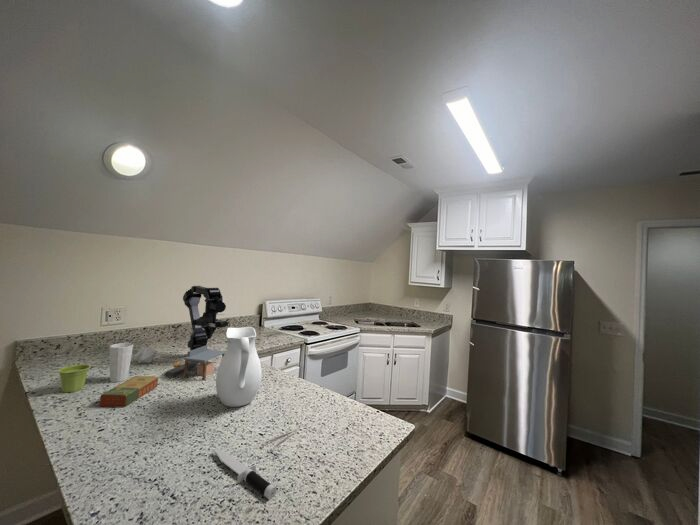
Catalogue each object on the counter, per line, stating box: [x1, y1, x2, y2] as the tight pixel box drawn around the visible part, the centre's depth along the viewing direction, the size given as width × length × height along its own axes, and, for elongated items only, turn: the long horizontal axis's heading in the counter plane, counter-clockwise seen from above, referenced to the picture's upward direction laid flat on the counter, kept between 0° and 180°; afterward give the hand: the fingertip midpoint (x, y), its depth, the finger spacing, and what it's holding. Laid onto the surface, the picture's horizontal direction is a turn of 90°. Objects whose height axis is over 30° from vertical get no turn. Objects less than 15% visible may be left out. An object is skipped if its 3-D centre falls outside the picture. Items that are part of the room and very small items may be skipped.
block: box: [196, 361, 214, 377], centre depth 137 cm, size 5×5×5 cm
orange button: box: [173, 362, 182, 368], centre depth 135 cm, size 3×3×1 cm
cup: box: [108, 342, 134, 383], centre depth 125 cm, size 8×8×16 cm
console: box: [165, 362, 200, 378], centre depth 139 cm, size 5×16×2 cm, turn 169°
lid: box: [183, 345, 226, 362], centre depth 137 cm, size 11×16×3 cm
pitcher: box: [215, 326, 263, 408], centre depth 107 cm, size 24×17×28 cm
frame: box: [183, 353, 225, 381], centre depth 137 cm, size 11×15×8 cm
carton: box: [98, 375, 159, 408], centre depth 110 cm, size 10×18×5 cm, turn 3°
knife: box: [211, 448, 277, 501], centre depth 71 cm, size 26×2×5 cm
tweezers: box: [260, 428, 300, 454], centre depth 87 cm, size 18×5×2 cm, turn 146°
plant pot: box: [57, 364, 91, 394], centre depth 113 cm, size 9×9×9 cm
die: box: [134, 346, 156, 365], centre depth 148 cm, size 8×9×10 cm
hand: (209, 338), depth 152 cm, fingers closed
